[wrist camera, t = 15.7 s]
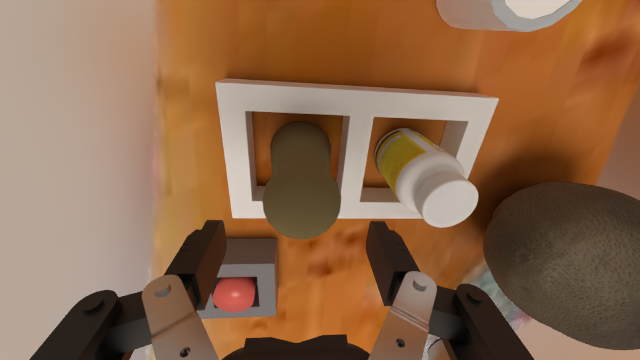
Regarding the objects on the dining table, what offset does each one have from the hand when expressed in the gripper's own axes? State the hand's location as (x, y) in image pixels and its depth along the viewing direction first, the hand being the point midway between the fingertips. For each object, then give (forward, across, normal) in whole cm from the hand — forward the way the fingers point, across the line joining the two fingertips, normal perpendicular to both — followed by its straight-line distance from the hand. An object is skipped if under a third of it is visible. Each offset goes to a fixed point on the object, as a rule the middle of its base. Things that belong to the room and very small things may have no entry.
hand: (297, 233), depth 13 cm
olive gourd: (+13, 0, 0) cm, 13 cm away
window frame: (+12, -5, 0) cm, 14 cm away
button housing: (+13, +7, +16) cm, 21 cm away
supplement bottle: (+13, -10, 0) cm, 16 cm away
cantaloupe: (+13, -26, +7) cm, 30 cm away
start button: (+11, +7, +16) cm, 20 cm away
